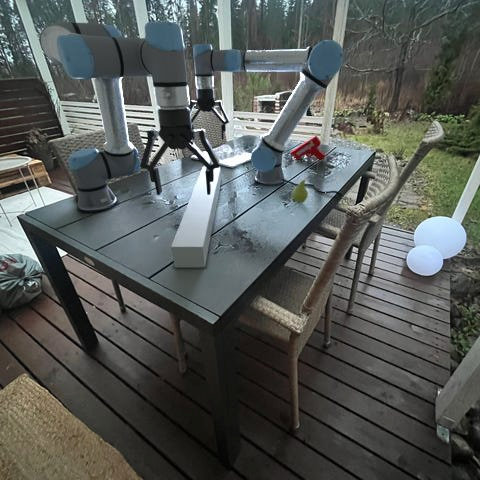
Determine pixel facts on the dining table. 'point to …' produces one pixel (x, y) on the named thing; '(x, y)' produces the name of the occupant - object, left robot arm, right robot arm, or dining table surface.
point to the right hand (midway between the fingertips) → (208, 139)
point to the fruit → (300, 192)
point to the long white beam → (197, 224)
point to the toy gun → (309, 149)
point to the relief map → (229, 156)
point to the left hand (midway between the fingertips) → (184, 193)
